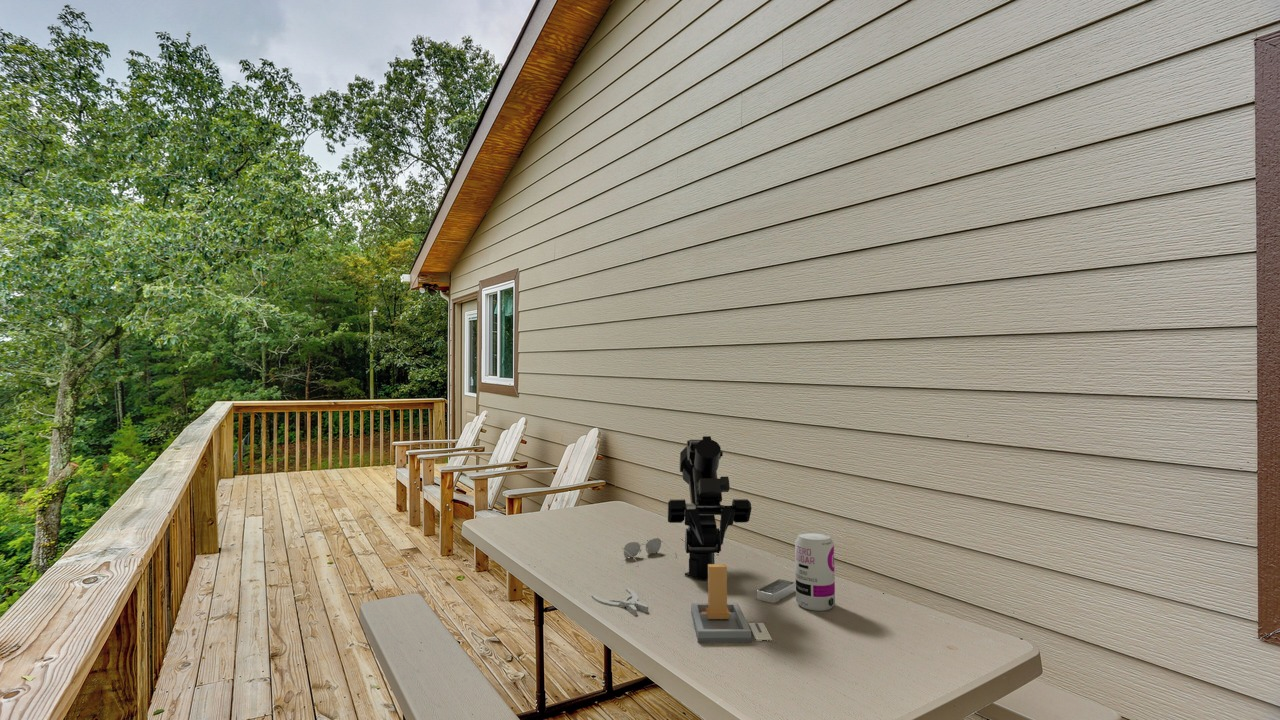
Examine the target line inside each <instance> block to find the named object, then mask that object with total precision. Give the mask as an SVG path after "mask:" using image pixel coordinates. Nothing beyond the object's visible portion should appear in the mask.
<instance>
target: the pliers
mask: <svg viewBox="0 0 1280 720" xmlns="http://www.w3.org/2000/svg"><path fill="white" fill-rule="evenodd" d="M625 591H626V592H628V593H629V594H630V595H628V596H627V597H626V598H625V599H623V600H618V599H617V600H616V599H603V598H601V597H599V596H597V595H595V594H591V598H592V599H593V601H596V602H598V603H600V604H604V605H607V606H611V607H619V608H625V607H626V608H625V609H626V610H627V611H628V612H629V613H631V614H632V615H633V616H637V615H638V611H640V612H643V613H646V614H647V613H649V605H647V604H645V603H643V602H641V601H639V595H638V593H636V591H634V590H633V589H630V588H625Z"/></svg>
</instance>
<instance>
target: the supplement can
mask: <svg viewBox="0 0 1280 720" xmlns="http://www.w3.org/2000/svg"><path fill="white" fill-rule="evenodd" d="M794 551H795V552H794V553H795V554H794V558H795V559H794V560H795V561H794V562H795V563H794V564H795V566H794V567H795V601H796V602H797V604H798V605H799V606H800V607H801V608H803V609H806V610H809V611H813V612H814V611H815V612H824V611H829V610H831V609H832V608H833V607H834V606H835V605H836V587H835V586H836V585H835V583H836V581H835V580H836V579H835V578H836V577H835V576H836V575H835V573H836V572H835V570H836V569H835V542H834V541H833V540H832V537H831V535H829V534H827V533H822V532H813V531H811V532H810V531H808V532H805V531H804V532H800V533H798V535H797V538H796V539H795V541H794Z"/></svg>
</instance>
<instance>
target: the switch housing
mask: <svg viewBox="0 0 1280 720" xmlns="http://www.w3.org/2000/svg"><path fill="white" fill-rule="evenodd" d="M706 608H708V602H704V603H703V602H697V603H696V602H690V613H691V618H692V621H693V626H694V630H695V634H696V638H697V643H752V635H753V637H754V639H756V640H755V642H763V641H762V640H767V641H766V642H768V640H770V641H769V642H772V641H773V639H772V637H771V635H770V633H769V631H768V629H767V627H766V625H765V623H764V622H747V619H746V617H745V615H744V613H743V611H742V608H741V606H740V604H739V602H727V608H728V610H729V613H730V619H708V618H707V615H706ZM771 640H772V641H771Z"/></svg>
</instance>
